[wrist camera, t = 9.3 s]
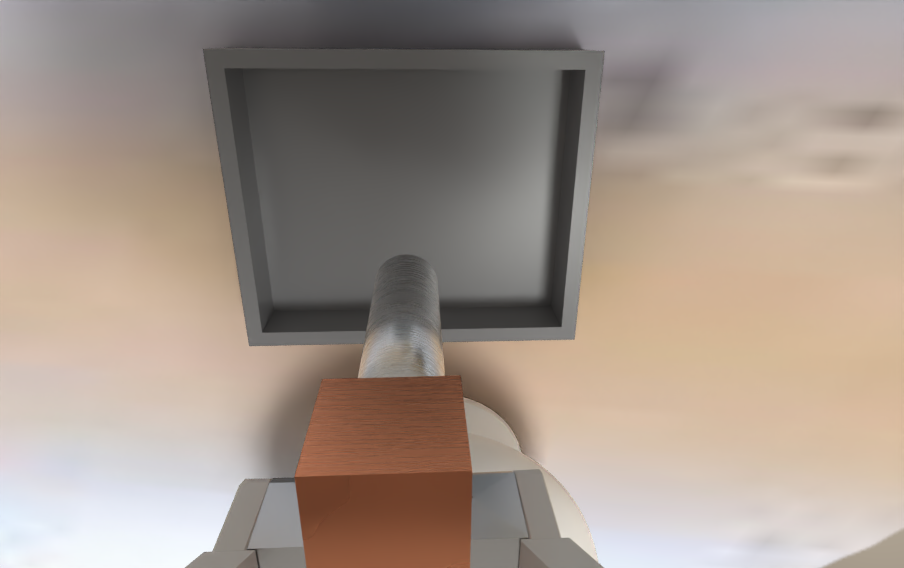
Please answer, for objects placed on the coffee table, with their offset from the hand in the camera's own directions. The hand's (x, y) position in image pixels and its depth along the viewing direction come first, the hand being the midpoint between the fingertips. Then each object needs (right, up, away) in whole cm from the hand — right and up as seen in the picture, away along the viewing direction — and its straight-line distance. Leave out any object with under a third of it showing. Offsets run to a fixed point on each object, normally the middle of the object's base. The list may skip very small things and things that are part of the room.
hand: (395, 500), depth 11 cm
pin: (-1, +4, +9) cm, 10 cm away
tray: (-1, +9, +21) cm, 23 cm away
